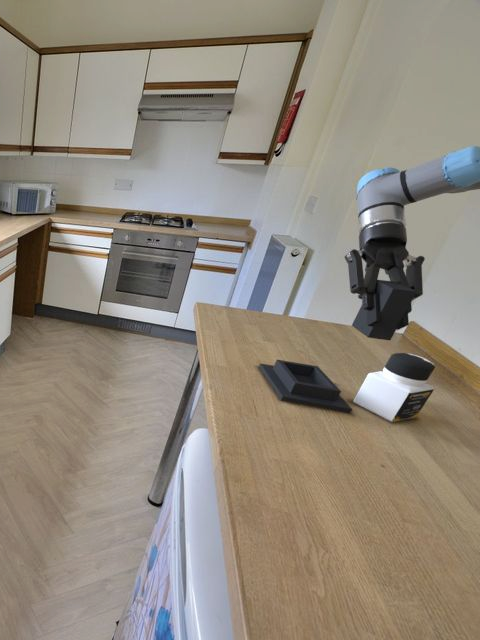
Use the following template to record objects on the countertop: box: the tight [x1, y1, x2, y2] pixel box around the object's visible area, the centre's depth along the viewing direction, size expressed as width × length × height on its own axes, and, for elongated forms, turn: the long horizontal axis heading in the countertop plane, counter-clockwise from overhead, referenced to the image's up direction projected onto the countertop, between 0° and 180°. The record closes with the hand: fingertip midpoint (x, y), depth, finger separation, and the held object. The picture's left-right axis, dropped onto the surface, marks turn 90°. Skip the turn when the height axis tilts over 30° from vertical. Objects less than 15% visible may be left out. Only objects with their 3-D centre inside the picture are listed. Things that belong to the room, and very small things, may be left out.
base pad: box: [258, 359, 353, 414], centre depth 88 cm, size 12×15×4 cm
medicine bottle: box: [353, 352, 436, 423], centre depth 80 cm, size 7×7×12 cm
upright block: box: [351, 279, 417, 341], centre depth 88 cm, size 4×7×11 cm, turn 162°
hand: (387, 324), depth 85 cm, fingers closed on upright block, 4 cm apart
